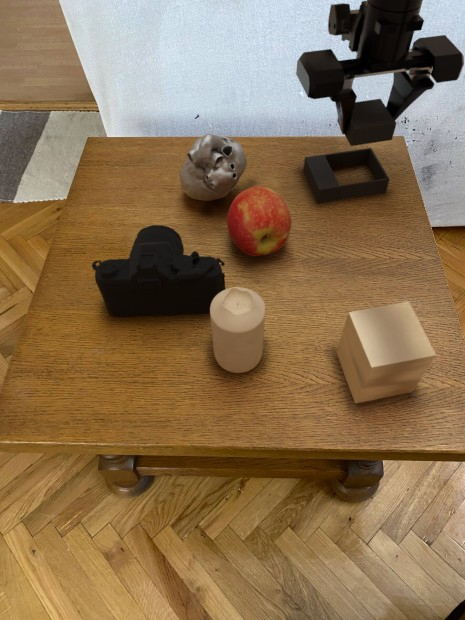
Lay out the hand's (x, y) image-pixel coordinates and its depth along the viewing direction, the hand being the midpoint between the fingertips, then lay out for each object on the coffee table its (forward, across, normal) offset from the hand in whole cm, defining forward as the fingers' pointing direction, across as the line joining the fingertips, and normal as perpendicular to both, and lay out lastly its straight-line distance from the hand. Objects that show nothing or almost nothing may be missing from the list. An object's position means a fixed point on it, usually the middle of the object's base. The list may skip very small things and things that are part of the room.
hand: (364, 129), depth 64 cm
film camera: (+9, +29, +14) cm, 34 cm away
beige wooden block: (+9, +8, +30) cm, 33 cm away
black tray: (+9, +1, 0) cm, 9 cm away
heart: (+9, +20, -1) cm, 22 cm away
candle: (+9, +22, +25) cm, 35 cm away
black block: (0, 0, 0) cm, 0 cm away
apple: (+9, +16, +9) cm, 21 cm away
